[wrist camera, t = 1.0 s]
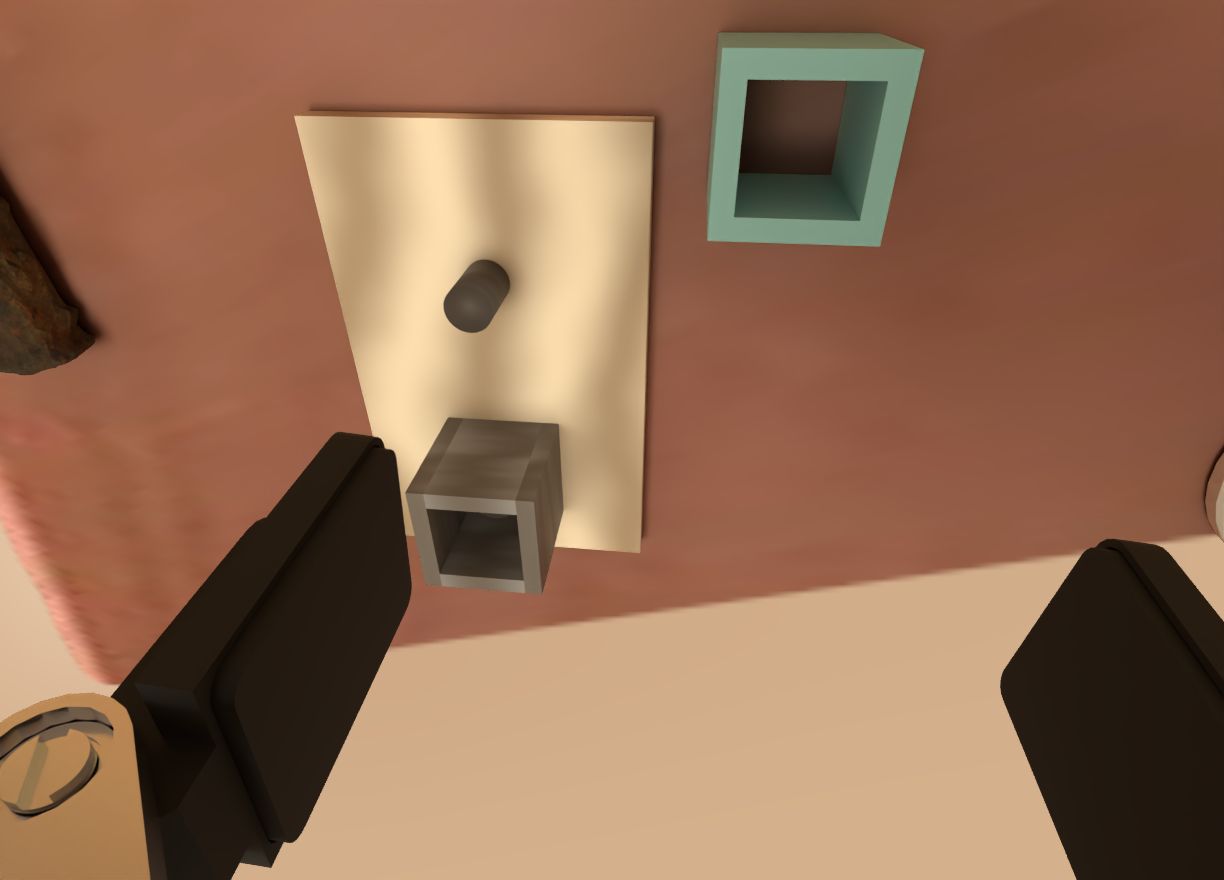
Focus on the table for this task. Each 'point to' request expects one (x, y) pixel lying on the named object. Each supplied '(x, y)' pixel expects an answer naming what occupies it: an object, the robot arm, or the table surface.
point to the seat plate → (496, 324)
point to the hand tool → (32, 309)
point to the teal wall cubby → (864, 148)
